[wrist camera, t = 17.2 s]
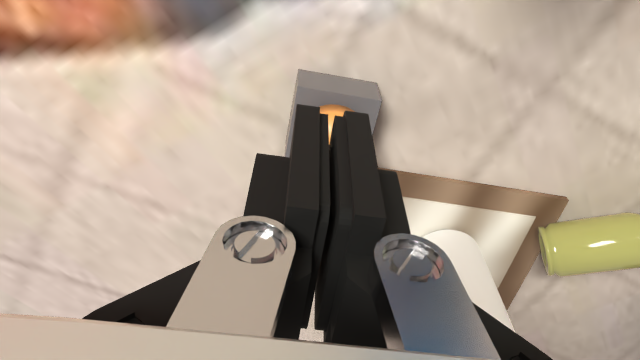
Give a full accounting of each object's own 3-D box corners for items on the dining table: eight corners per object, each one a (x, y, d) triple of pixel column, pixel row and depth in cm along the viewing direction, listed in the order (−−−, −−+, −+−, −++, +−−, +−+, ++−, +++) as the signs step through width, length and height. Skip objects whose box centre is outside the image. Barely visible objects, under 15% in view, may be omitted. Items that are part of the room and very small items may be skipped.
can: (473, 218, 42) (525, 335, 32) (483, 273, 45) (533, 394, 35) (396, 236, 42) (423, 356, 32) (412, 289, 46) (440, 412, 36)
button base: (376, 83, 36) (382, 100, 33) (358, 150, 39) (362, 171, 36) (298, 69, 35) (297, 86, 32) (286, 139, 38) (284, 159, 35)
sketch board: (566, 197, 41) (569, 201, 41) (497, 320, 49) (499, 325, 49) (363, 165, 39) (364, 169, 39) (326, 299, 47) (326, 304, 47)
